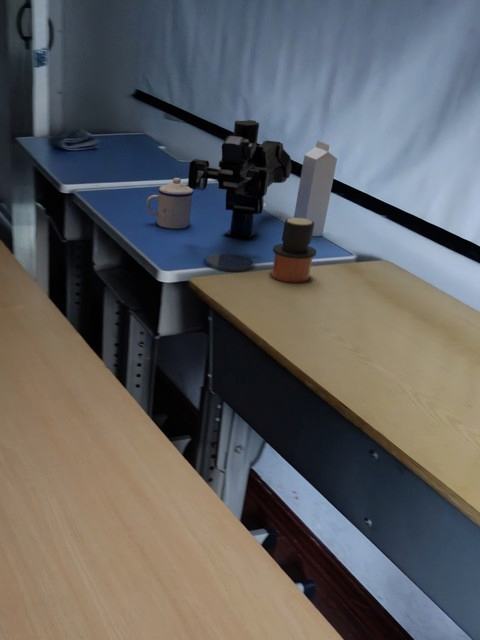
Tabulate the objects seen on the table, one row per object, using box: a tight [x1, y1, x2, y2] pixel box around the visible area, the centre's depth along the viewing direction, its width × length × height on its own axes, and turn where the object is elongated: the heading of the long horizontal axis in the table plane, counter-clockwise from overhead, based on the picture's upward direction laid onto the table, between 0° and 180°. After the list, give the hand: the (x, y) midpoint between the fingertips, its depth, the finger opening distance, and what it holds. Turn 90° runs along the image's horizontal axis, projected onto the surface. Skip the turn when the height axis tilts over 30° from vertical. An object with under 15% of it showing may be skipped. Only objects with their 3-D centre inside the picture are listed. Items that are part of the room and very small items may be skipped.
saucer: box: [205, 253, 254, 272], centre depth 195 cm, size 11×11×1 cm
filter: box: [272, 217, 318, 259], centre depth 185 cm, size 10×10×8 cm
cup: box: [271, 253, 314, 283], centre depth 188 cm, size 8×8×6 cm
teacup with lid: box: [146, 177, 194, 230], centre depth 219 cm, size 12×9×12 cm
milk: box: [293, 140, 338, 237], centre depth 212 cm, size 6×6×22 cm
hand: (215, 187), depth 187 cm, fingers open, 9 cm apart
